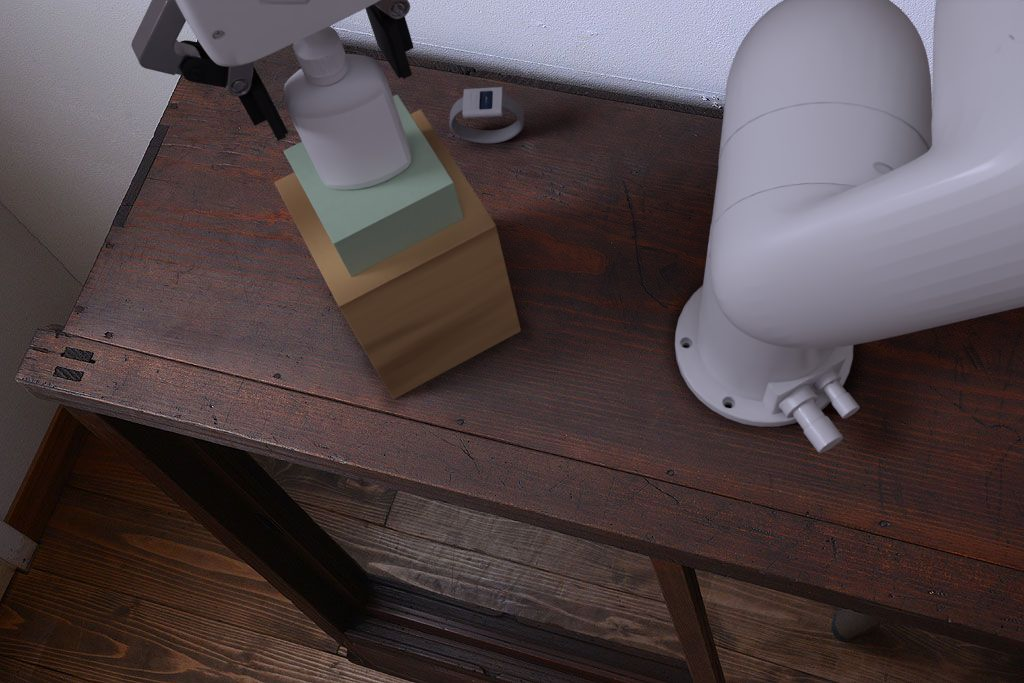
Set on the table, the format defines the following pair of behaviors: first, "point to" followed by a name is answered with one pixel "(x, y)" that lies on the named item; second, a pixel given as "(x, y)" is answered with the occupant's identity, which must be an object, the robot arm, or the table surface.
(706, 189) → the table surface
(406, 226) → the block
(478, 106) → the wristwatch
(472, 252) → the stand
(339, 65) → the eye dropper bottle
